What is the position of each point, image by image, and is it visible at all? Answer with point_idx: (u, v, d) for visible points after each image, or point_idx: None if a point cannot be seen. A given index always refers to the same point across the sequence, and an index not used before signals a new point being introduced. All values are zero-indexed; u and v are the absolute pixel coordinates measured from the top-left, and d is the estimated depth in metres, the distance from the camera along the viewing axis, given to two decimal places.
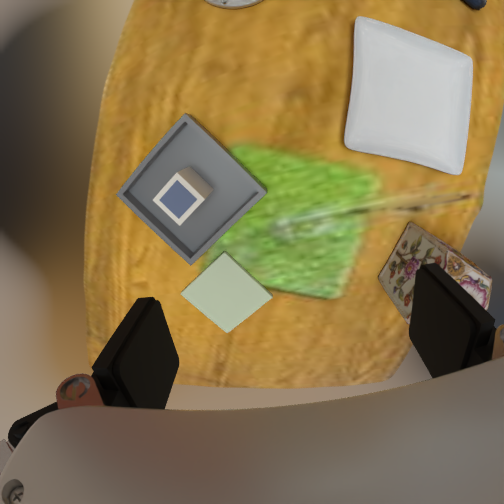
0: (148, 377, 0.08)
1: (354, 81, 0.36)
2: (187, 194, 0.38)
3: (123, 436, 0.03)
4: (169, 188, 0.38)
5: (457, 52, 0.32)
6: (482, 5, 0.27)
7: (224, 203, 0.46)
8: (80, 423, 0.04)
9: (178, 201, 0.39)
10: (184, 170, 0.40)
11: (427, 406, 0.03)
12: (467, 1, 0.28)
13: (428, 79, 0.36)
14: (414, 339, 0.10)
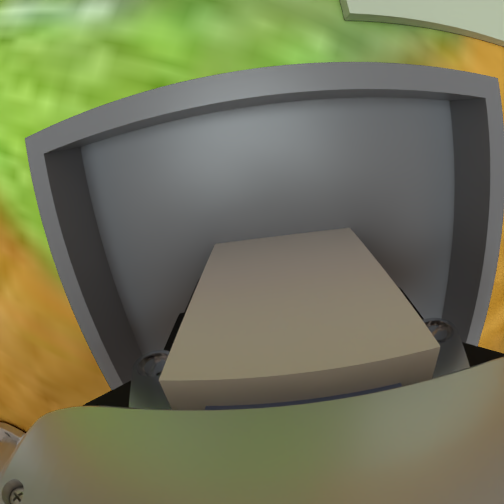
0: None
1: None
2: None
3: (123, 436, 0.03)
4: None
5: None
6: None
7: (212, 172, 0.10)
8: (80, 423, 0.04)
9: None
10: None
11: (427, 406, 0.03)
12: None
13: None
14: None
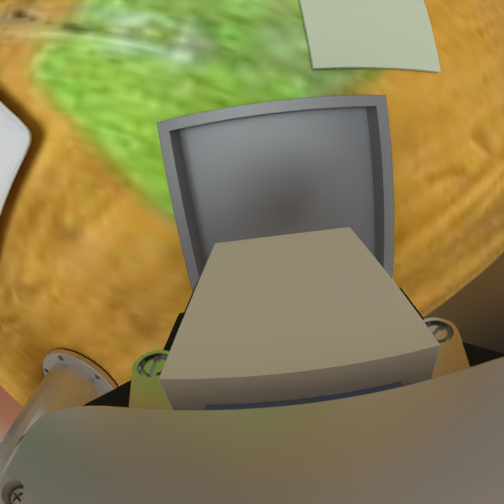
0: None
1: None
2: None
3: (123, 436, 0.03)
4: None
5: None
6: None
7: (248, 145, 0.22)
8: (80, 423, 0.04)
9: None
10: None
11: (427, 406, 0.03)
12: None
13: None
14: None
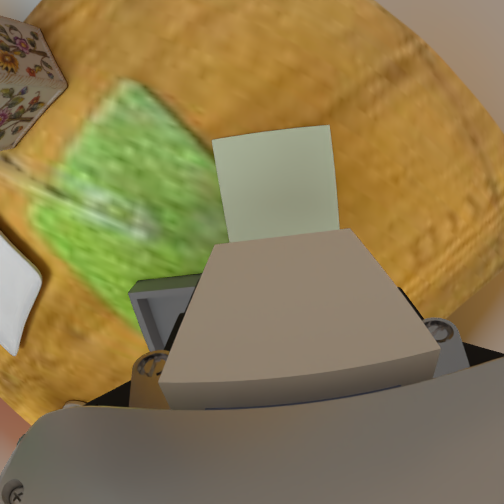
0: None
1: (23, 321, 0.34)
2: None
3: (123, 436, 0.03)
4: None
5: None
6: None
7: None
8: (80, 423, 0.04)
9: None
10: None
11: (427, 406, 0.03)
12: None
13: None
14: None
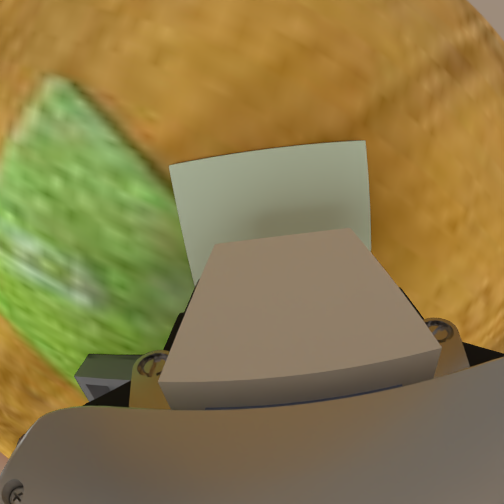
0: None
1: None
2: None
3: (123, 436, 0.03)
4: None
5: None
6: None
7: None
8: (80, 423, 0.04)
9: None
10: None
11: (427, 406, 0.03)
12: None
13: None
14: None
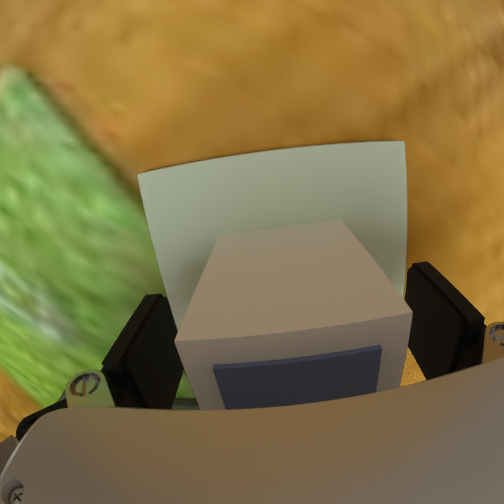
0: (157, 373, 0.09)
1: None
2: (239, 408, 0.07)
3: (123, 436, 0.03)
4: None
5: None
6: None
7: None
8: (80, 423, 0.04)
9: None
10: None
11: (428, 405, 0.03)
12: None
13: None
14: None
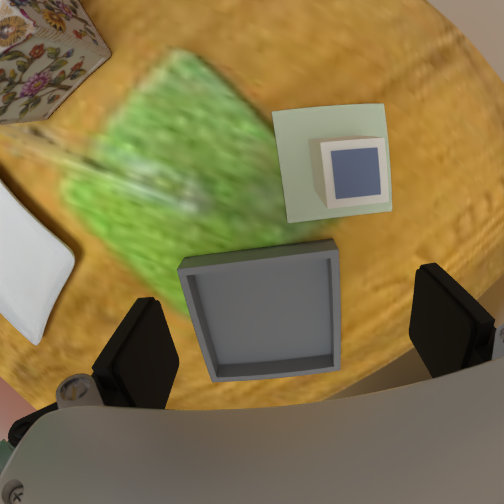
0: (148, 377, 0.08)
1: (50, 306, 0.34)
2: (337, 169, 0.21)
3: (123, 436, 0.03)
4: (354, 196, 0.22)
5: None
6: None
7: (241, 277, 0.33)
8: (80, 423, 0.04)
9: (358, 170, 0.21)
10: (320, 196, 0.25)
11: (427, 406, 0.03)
12: None
13: None
14: (414, 339, 0.10)
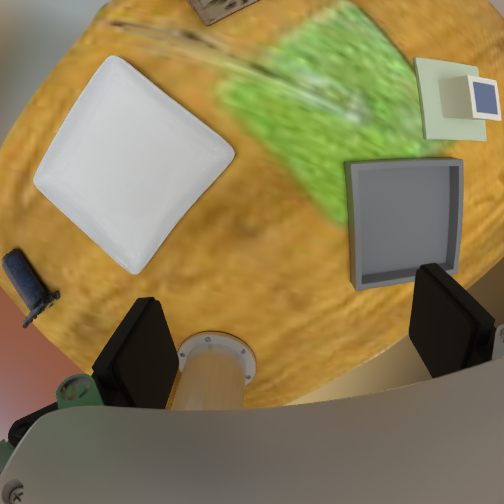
0: (148, 377, 0.08)
1: (180, 214, 0.36)
2: (477, 93, 0.24)
3: (123, 436, 0.03)
4: (485, 113, 0.24)
5: (46, 193, 0.35)
6: (8, 255, 0.38)
7: (391, 182, 0.35)
8: (80, 423, 0.04)
9: (486, 96, 0.24)
10: (458, 115, 0.28)
11: (427, 406, 0.03)
12: (22, 261, 0.41)
13: (94, 173, 0.36)
14: (414, 339, 0.10)
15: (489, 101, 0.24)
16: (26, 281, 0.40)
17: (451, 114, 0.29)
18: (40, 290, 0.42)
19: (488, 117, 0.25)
